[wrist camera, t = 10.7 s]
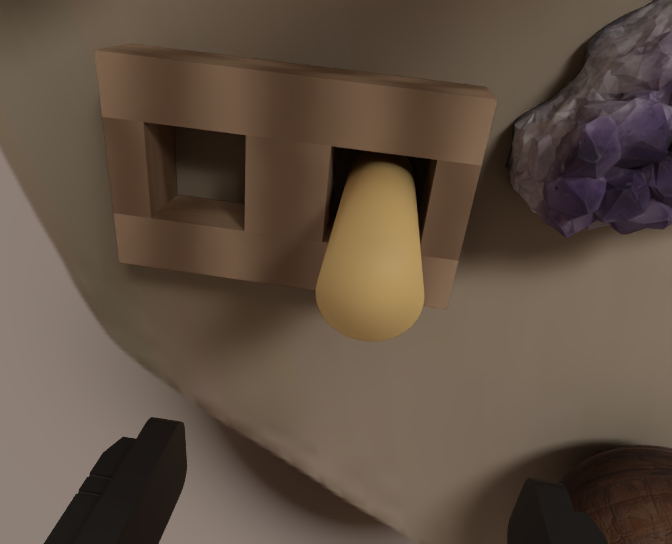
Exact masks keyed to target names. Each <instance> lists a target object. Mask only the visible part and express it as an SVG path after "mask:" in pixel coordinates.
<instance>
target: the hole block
mask: <svg viewBox="0 0 672 544" xmlns="http://www.w3.org/2000/svg"><path fill="white" fill-rule="evenodd" d="M94 53H95V61H96V70H97V78H98V87H99V95H100V104H101V112H102V120H103V129H104V137H105V146H106V154H107V163H108V171H109V180H110V188H111V197H112V205H113V213H114V222H115V230H116V239H117V247H118V256H119V262H120V263H127V264H134V265H141V266H148V267H155V268H162V269H169V270H176V271H183V272H190V273H197V274H204V275H211V276H218V277H225V278H232V279H239V280H246V281H253V282H259V283H266V284H273V285H280V286H287V287H294V288H301V289H308V290H315V291H316V285H317V281H318V277H319V274H320V270H321V267H322V263H323V260H324V256H325V253H326V250H327V246H328V243H329V239H330V236H331V232H332V229H333V225H334V222H335V218H336V216H331V206H332V196H333V186H334V176H335V166H336V157H337V147H341V148H349V149H357V150H365V151H372V152H380V153H388V154H396V155H403V156H411V157H419V158H427V159H430V160H429V165H428V171H427V176H426V181H425V186H424V192H423V197H422V202H421V207H420V212H419V218H418V225H419V237H420V249H421V260H422V272H423V284H424V305H423V306H427V307H434V308H441V309H447V307H448V303H449V299H450V294H451V290H452V286H453V282H454V278H455V274H456V270H457V266H458V261H459V257H460V253H461V249H462V245H463V241H464V237H465V233H466V228H467V224H468V220H469V216H470V212H471V208H472V204H473V199H474V195H475V191H476V187H477V183H478V179H479V175H480V171H481V166H482V162H483V158H484V154H485V150H486V146H487V142H488V138H489V133H490V129H491V125H492V121H493V117H494V113H495V109H496V105H497V100H498V99H497V98H496V97H495V96H494V95H493V94H492V93H491V92H490V91H489V90H488V89H487V88H486V87H484V86H476V85H467V84H459V83H451V82H443V81H434V80H426V79H418V78H410V77H401V76H393V75H385V74H376V73H368V72H360V71H352V70H343V69H335V68H327V67H319V66H310V65H302V64H294V63H286V62H277V61H269V60H261V59H253V58H244V57H236V56H228V55H220V54H211V53H203V52H195V51H187V50H178V49H170V48H162V47H154V46H145V45H137V44H127V45H121V46H116V47H110V48H105V49H99V50H94ZM174 126H178V127H186V128H194V129H201V130H209V131H217V132H225V133H233V134H240V135H246V159H245V204H241V203H234V202H227V201H219V200H212V199H204V198H197V197H190V196H182V195H177V176H176V157H175V138H174Z"/></svg>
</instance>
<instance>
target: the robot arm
mask: <svg viewBox="0 0 672 544" xmlns="http://www.w3.org/2000/svg"><path fill="white" fill-rule="evenodd" d="M186 471H187V458H186V441H185V427H184V423H183V422H180V421H173V420H167V419H161V418H153V417H151V418H150V419H149V420H148V421H147V422H146V424H145V425H144V427H143V429H142V430H141V432H140V434H139V435H138V437H137V439H134V438H127V437H122V438H121V439H120V440H118V441H117V442H116V443H115V444H113V445H112V446H111V447H110V448H108V449H107V450H106V451H105V452H103V454H102V455H101V457H100V458H99V460H98V461H97V463H96V464H95V466H94V467H93V469H92V470H91V472H90V476H89V477H87V478H86V480H85V481H84V483H83V484H82V486H81V487H80V489H79V492H78V494H76V495H75V497H74V498H73V500H72V501H71V503H70V504H69V506H68V507H67V509H66V511H65V512H64V513H63V515H62V516H61V518H60V520H59V521H58V523H57V524H56V526H55V527H54V529H53V530H52V532H51V533H50V535H49V536H48V538H47V540H46V541H45V543H44V544H158V543H159V541H160V539H161V537H162V534H163V532H164V530H165V528H166V525H167V523H168V521H169V519H170V516H171V514H172V512H173V510H174V508H175V505H176V503H177V501H178V499H179V496H180V494H181V491H182V489H183V485H184V482H185V477H186ZM507 541H508V544H608V543H607V540H606V537H605V535H604V534H603V533H602V532H601V530H600V529H599V528H598V526H597V525H596V524H595V522H594V521H593V520H592V518H591V517H590V516H589V514H588V513H584V512H578V511H574V509H573V506H572V503H571V500H570V497H569V494H568V491H567V489H566V487H565V486H564V485H563V484H561V483H556V482H549V481H543V480H537V479H531V478H528V479H527V480H526V481H525V483H524V485H523V488H522V490H521V493H520V495H519V498H518V500H517V503H516V505H515V507H514V510H513V512H512V515H511V517H510V520H509V524H508V533H507Z"/></svg>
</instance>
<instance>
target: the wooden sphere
mask: <svg viewBox="0 0 672 544" xmlns="http://www.w3.org/2000/svg"><path fill="white" fill-rule="evenodd" d="M560 483H561V484H563V485H564V486H565V487H566V489H567V491H568V494H569V497H570V500H571V503H572V506H573V509H574V511H578V512H584V513H588V514H589V516H590V517H591V518H592V520H593V521H594V522H595V524H596V525H597V526H598V528H599V529H600V530H601V532H602V533H603V534H604V535H605V537H606V540H607V543H608V544H672V448H667V447H661V446H650V445H635V446H625V447H619V448H614V449H610V450H607V451H604V452H601V453H598V454H596V455H594V456H592V457H590V458H588V459H586V460H585V461H583V462H582V463H580V464H579V465H577V466H576V467H575V468H574V469H572V470H571V471H570V472H569V473H568V474H567V475H566V476H565V477H564V479H563V480H562V481H561V482H560Z"/></svg>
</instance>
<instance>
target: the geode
mask: <svg viewBox="0 0 672 544" xmlns="http://www.w3.org/2000/svg"><path fill="white" fill-rule="evenodd" d="M505 167H506V168H507V169H508V170H509V171H510V184H511V187H512V189H513V190H515V191H516V192H518V193H519V194H520V196H521V197H522V198H523V199H524V200H525V201H526V202H527V204H528V206H529V207H530V209H531V211H532V212H534V213H537V214H538V215H539V216H540V218H541V220H542V221H543V222H544V223H546V224H548V225H550V226H552V227H553V228H555V229H556V230H557V231H558V232H560V233H561V234H562V235H563V236H565V237H566V238H569V237H571V236H573V235H574V234H576V233H578V232H579V231H581V230H583V229H584V228H586V227H587V226H588V229H589V230H592V229H594V228H597V227H601V226H610V227H612V228H613V229H615V230H616V231H618V232H619V233H620V234H629V233H632V232H635V231H638V230H641V229H644V228H654V229H664V228H666V227H667V226H669V225H670V224H672V0H653V1H652V2H650V3H649V4H647V5H646V6H644V7H642V8H639V9H637V10H635V11H632V12H630V13H628V14H625V15H624V16H622V17H620V18H618V19H617V20H615V21H613V22H611V23H610V24H608V25H606V26H605V27H603V28H602V29H601V30H600V31H599V32H598V33H597V34H595V35H594V36H593V37H592V38H591V39H590V41H589V43H588V44H587V46H586V50H585V55H584V67H583V69H582V70H581V71H580V72H579V73H578V74H577V75H576V76H575V78H574V79H572V80H571V81H570V82H569V83H568V84H567V85H566V86H565V87H564V88H562V89H561V90H560V91H559V92H558V93H557V94H556V95H555V96H553V97H552V98H551V99H550V100H548V101H546V102H544V103H542V104H540V105H538V106H537V107H535V108H533V109H531V110H529V111H528V112H526V113H524V114H523V115H521V116H520V117H519V118H518V119H517V120H516V121H515V122H514V125H513V135H512V144H511V148H510V152H509V155H508V158H507V162H506V165H505Z"/></svg>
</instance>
